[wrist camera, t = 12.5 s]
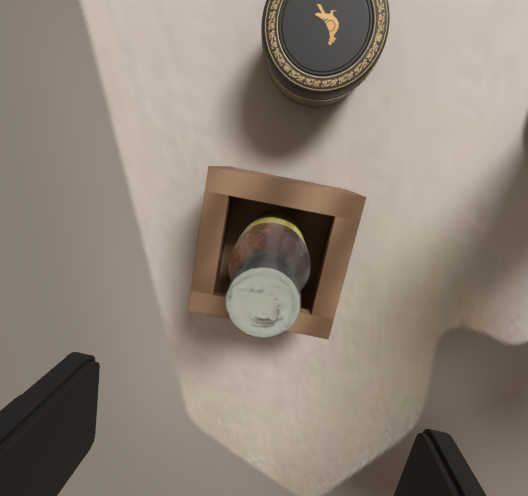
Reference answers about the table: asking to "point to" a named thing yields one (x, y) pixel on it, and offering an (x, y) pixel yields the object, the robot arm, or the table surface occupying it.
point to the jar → (322, 46)
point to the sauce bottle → (267, 276)
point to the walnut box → (302, 212)
